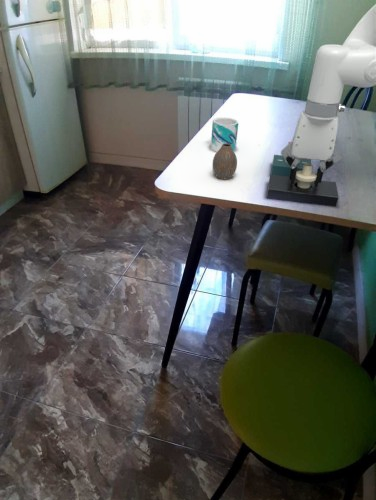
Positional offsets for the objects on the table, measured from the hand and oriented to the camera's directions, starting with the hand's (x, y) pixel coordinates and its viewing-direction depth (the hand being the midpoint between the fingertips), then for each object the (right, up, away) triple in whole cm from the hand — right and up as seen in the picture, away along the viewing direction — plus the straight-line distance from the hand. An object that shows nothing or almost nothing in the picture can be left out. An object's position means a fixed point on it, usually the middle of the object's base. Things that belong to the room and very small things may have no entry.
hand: (304, 183), depth 109 cm
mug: (-19, +22, +27) cm, 40 cm away
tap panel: (0, +8, +13) cm, 16 cm away
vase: (-21, +5, +9) cm, 23 cm away
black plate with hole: (0, -2, +2) cm, 3 cm away
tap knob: (0, +10, +11) cm, 15 cm away
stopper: (0, 0, 0) cm, 1 cm away
